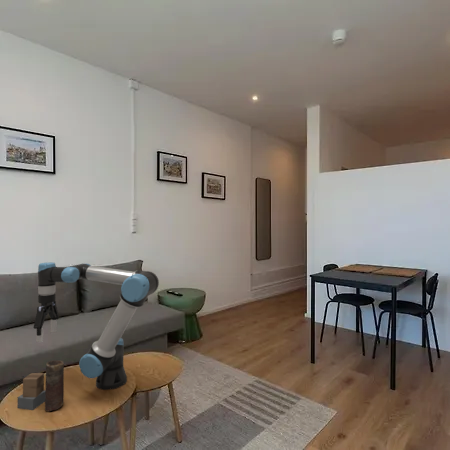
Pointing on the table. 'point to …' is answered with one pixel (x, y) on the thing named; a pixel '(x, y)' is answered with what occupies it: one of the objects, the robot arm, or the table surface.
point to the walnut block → (33, 385)
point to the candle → (54, 385)
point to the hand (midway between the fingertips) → (47, 337)
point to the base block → (31, 401)
